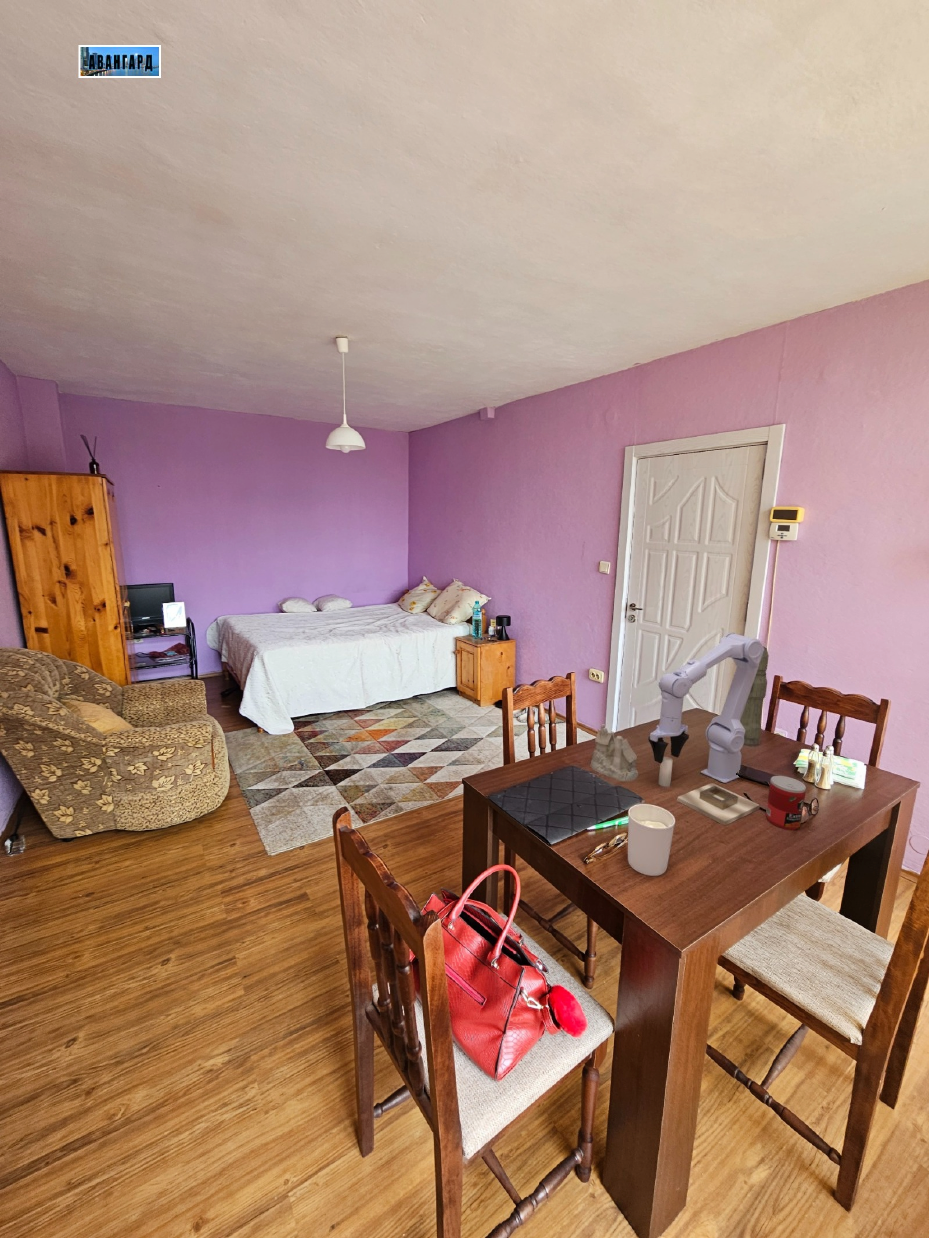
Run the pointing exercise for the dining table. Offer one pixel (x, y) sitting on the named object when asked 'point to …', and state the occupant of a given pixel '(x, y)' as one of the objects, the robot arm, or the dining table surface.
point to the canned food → (785, 802)
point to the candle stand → (718, 803)
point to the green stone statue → (755, 704)
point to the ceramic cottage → (613, 756)
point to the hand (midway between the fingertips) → (666, 759)
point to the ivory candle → (665, 772)
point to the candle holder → (649, 838)
